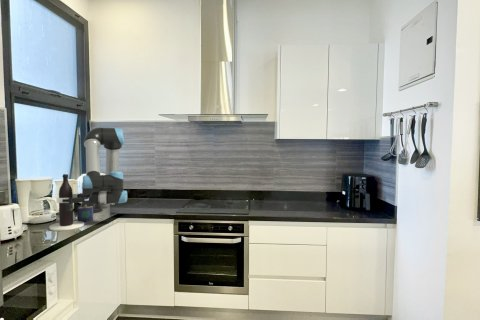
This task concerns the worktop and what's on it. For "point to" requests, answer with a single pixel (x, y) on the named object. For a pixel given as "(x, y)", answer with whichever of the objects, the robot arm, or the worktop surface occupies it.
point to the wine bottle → (65, 208)
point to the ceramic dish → (65, 228)
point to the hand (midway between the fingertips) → (61, 198)
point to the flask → (85, 213)
